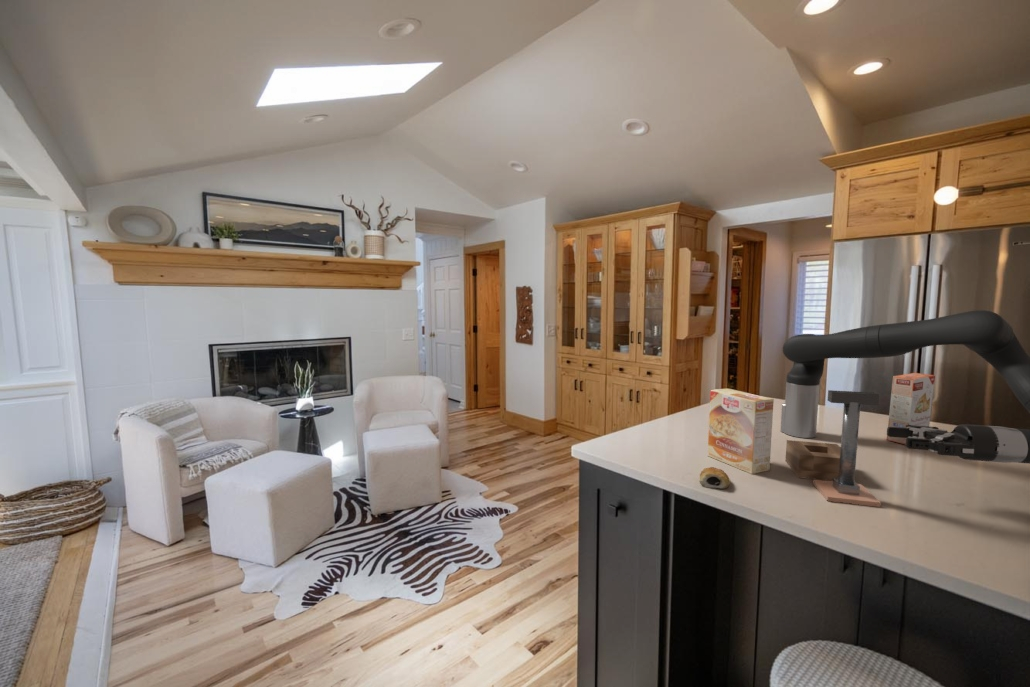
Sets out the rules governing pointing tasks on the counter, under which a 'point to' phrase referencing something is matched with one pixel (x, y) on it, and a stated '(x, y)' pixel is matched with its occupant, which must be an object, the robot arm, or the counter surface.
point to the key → (850, 436)
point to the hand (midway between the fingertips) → (896, 437)
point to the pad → (833, 495)
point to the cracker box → (910, 402)
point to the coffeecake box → (740, 429)
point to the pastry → (714, 478)
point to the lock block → (813, 459)
